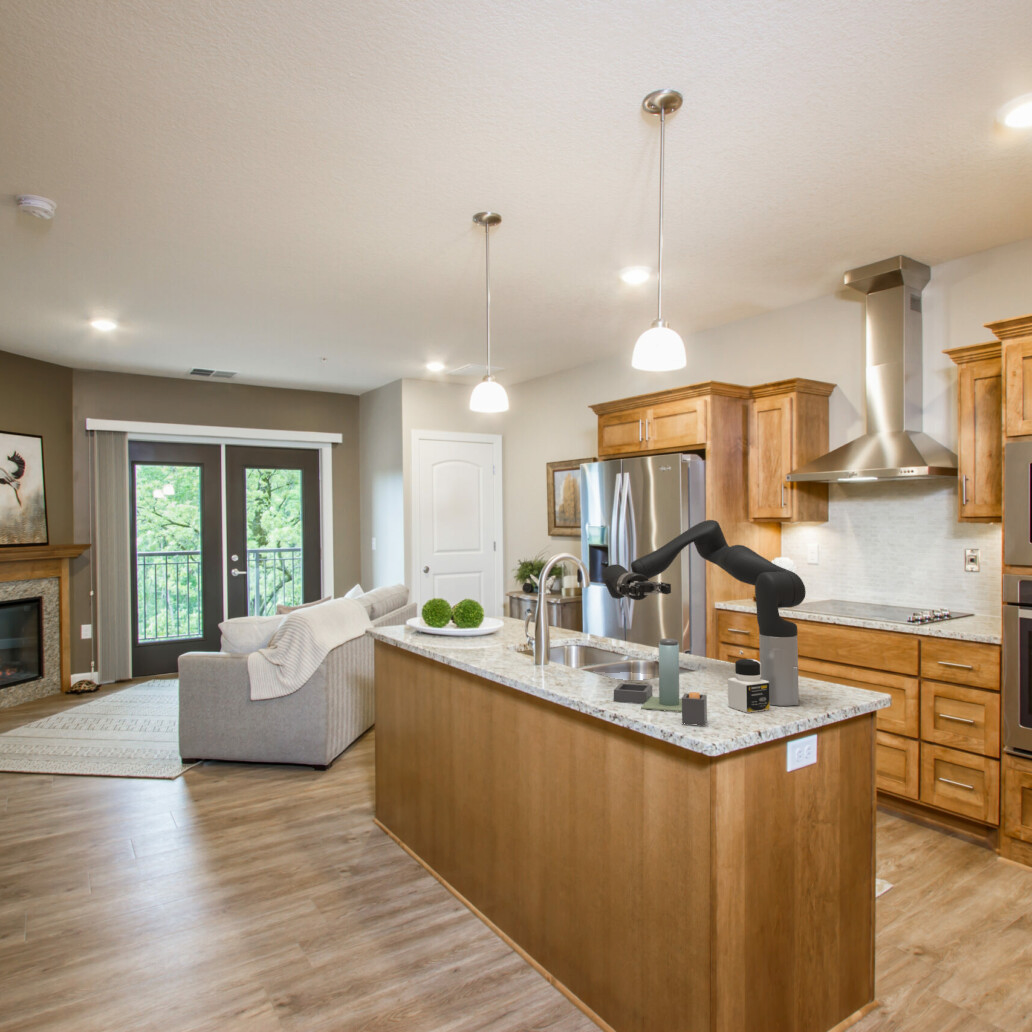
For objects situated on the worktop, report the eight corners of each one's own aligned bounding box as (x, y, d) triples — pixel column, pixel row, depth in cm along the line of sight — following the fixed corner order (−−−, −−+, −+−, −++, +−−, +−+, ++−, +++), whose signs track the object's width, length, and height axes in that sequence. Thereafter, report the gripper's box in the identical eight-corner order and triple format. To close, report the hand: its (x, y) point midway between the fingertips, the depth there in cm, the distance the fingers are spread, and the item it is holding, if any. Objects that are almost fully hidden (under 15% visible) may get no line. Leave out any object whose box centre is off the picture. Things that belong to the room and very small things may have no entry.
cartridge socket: (652, 696, 195) (652, 685, 195) (646, 704, 187) (646, 692, 187) (621, 694, 198) (620, 683, 198) (613, 701, 190) (613, 689, 190)
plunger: (700, 716, 170) (700, 692, 170) (699, 719, 167) (698, 694, 168) (690, 715, 171) (689, 691, 171) (688, 718, 168) (688, 694, 168)
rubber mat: (696, 701, 188) (696, 699, 188) (690, 713, 177) (690, 711, 177) (649, 698, 193) (649, 696, 193) (641, 709, 181) (641, 707, 181)
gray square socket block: (707, 720, 170) (706, 694, 171) (704, 726, 166) (704, 699, 166) (685, 718, 172) (684, 693, 172) (682, 724, 168) (681, 698, 168)
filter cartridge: (680, 701, 187) (679, 638, 187) (678, 706, 182) (678, 642, 182) (660, 700, 188) (659, 638, 188) (658, 705, 183) (657, 641, 183)
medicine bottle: (747, 713, 176) (746, 663, 176) (727, 706, 183) (726, 658, 183) (770, 710, 179) (769, 661, 179) (750, 703, 186) (749, 656, 186)
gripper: (656, 598, 213) (678, 603, 197) (609, 599, 211) (627, 605, 195) (656, 572, 213) (677, 576, 197) (609, 573, 211) (626, 577, 195)
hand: (652, 590), depth 196 cm, fingers open, 8 cm apart
